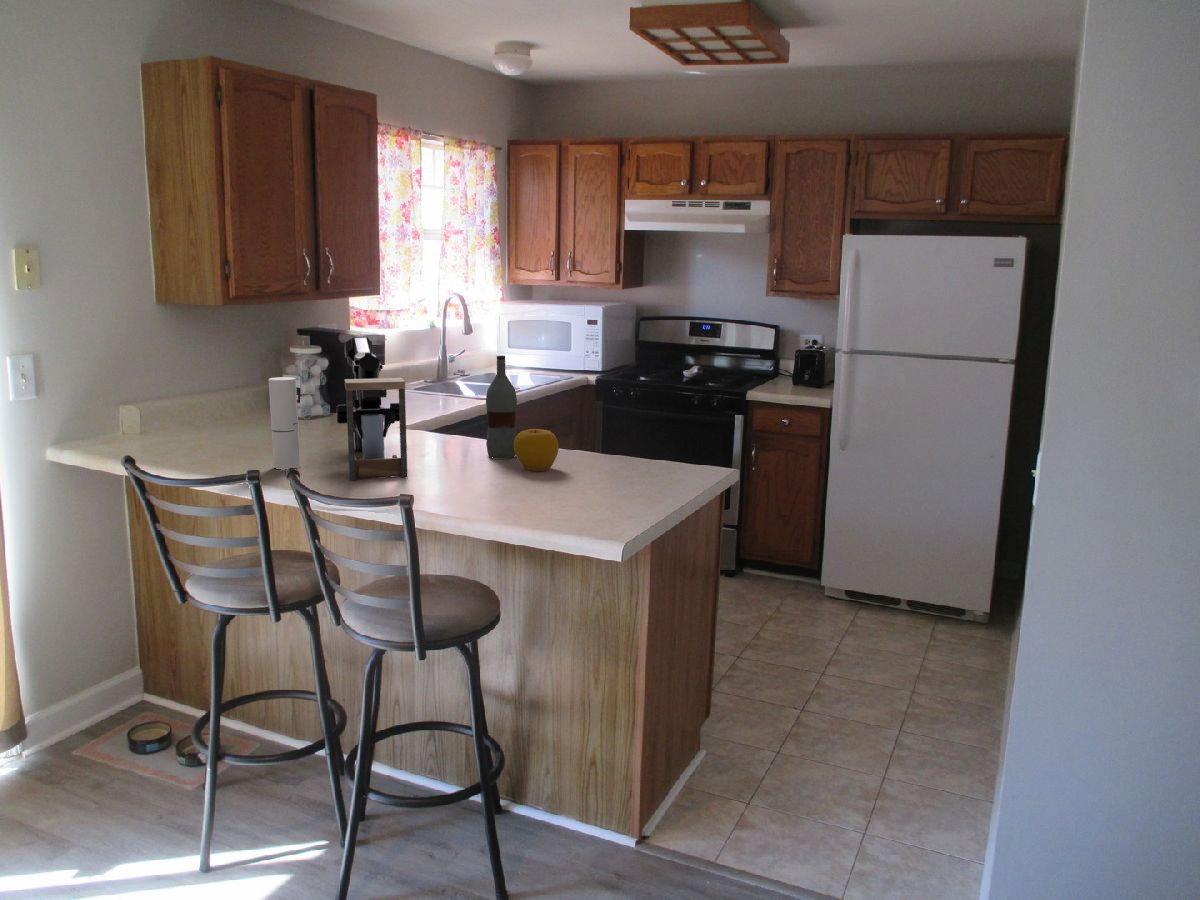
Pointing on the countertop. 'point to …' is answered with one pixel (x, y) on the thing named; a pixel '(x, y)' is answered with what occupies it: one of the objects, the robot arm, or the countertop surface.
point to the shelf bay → (356, 467)
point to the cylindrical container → (284, 422)
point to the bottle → (501, 414)
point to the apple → (536, 449)
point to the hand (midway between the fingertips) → (373, 437)
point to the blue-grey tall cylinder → (372, 436)
